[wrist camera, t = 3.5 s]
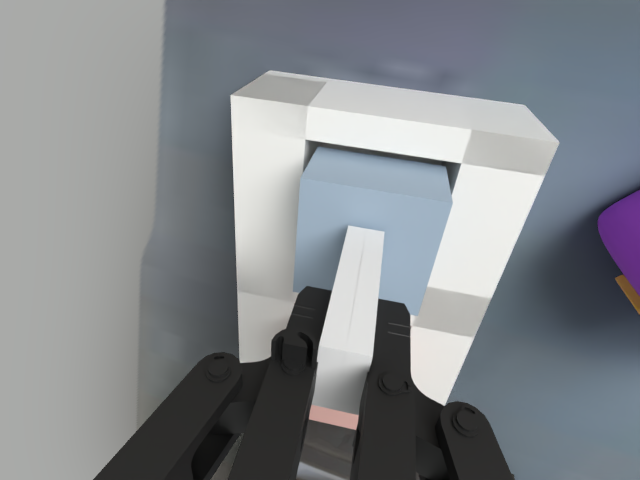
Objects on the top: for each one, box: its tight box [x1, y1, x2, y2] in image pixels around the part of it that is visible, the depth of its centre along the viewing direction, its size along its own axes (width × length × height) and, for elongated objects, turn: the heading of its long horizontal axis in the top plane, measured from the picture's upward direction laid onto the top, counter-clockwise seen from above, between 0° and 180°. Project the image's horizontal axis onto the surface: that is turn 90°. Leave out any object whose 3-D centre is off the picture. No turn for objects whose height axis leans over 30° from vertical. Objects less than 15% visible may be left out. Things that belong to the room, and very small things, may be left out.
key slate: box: [293, 147, 453, 316], centre depth 19 cm, size 6×6×4 cm
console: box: [231, 70, 559, 406], centre depth 25 cm, size 20×14×6 cm
